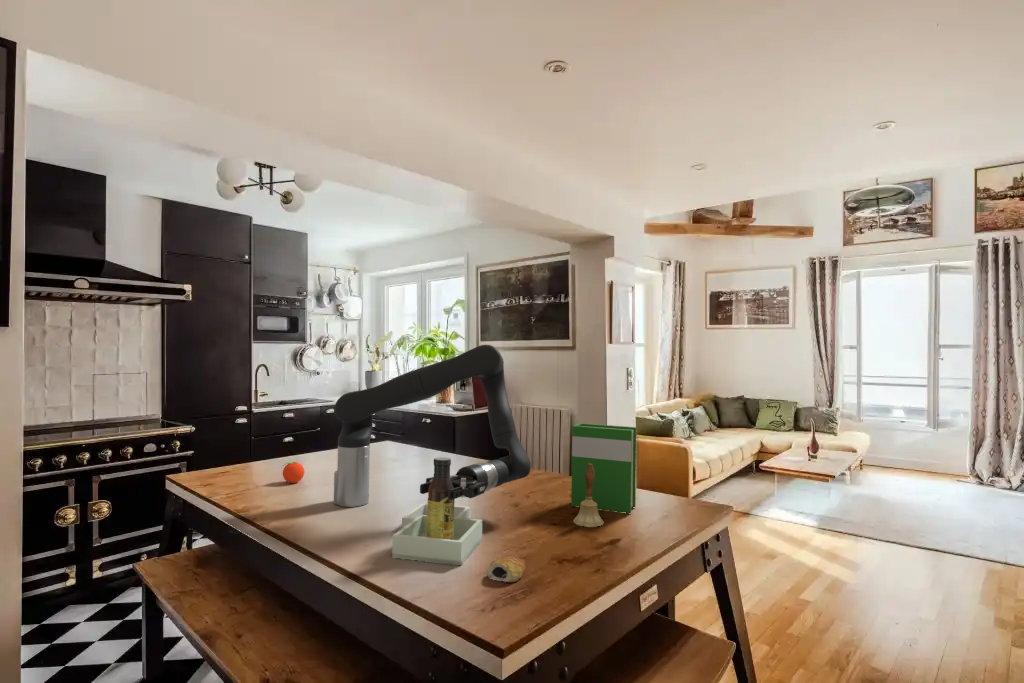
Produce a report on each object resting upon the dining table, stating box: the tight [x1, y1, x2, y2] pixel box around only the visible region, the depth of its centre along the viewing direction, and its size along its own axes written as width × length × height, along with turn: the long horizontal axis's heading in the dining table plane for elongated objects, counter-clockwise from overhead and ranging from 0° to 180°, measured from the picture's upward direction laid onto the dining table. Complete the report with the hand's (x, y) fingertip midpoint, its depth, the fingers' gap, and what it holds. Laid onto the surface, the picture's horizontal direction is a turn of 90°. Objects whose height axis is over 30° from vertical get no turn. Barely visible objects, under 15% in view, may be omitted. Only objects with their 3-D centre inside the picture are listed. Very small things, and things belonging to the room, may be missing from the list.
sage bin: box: [391, 514, 483, 566], centre depth 126 cm, size 16×16×5 cm
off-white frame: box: [401, 502, 471, 529], centre depth 144 cm, size 14×14×3 cm
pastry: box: [486, 555, 526, 583], centre depth 113 cm, size 9×7×4 cm
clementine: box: [282, 461, 305, 484], centre depth 184 cm, size 8×7×7 cm
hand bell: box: [572, 463, 605, 528], centre depth 147 cm, size 8×8×16 cm
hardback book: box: [570, 422, 637, 514], centre depth 162 cm, size 18×7×24 cm, turn 66°
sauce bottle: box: [427, 456, 456, 540], centre depth 126 cm, size 7×6×20 cm
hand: (434, 492), depth 124 cm, fingers open, 8 cm apart
